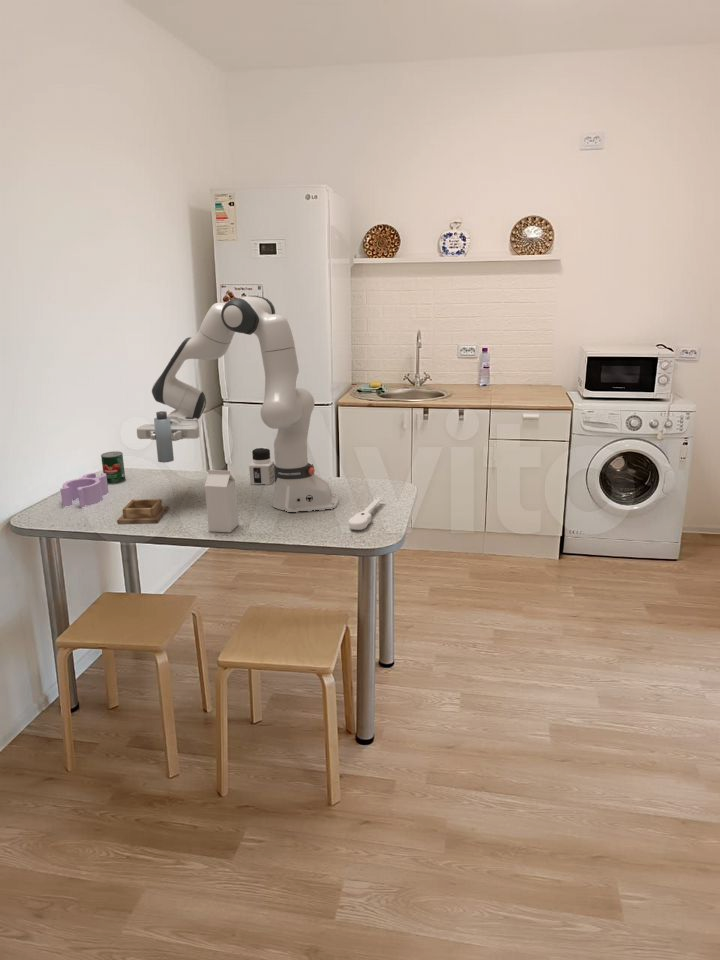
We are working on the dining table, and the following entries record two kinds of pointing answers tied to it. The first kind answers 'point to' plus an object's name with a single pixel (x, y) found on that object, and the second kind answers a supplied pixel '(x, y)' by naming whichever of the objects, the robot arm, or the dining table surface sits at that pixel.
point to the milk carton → (221, 501)
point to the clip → (85, 490)
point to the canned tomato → (113, 467)
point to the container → (261, 467)
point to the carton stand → (143, 511)
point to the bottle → (163, 437)
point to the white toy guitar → (363, 516)
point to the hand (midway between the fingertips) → (162, 437)
